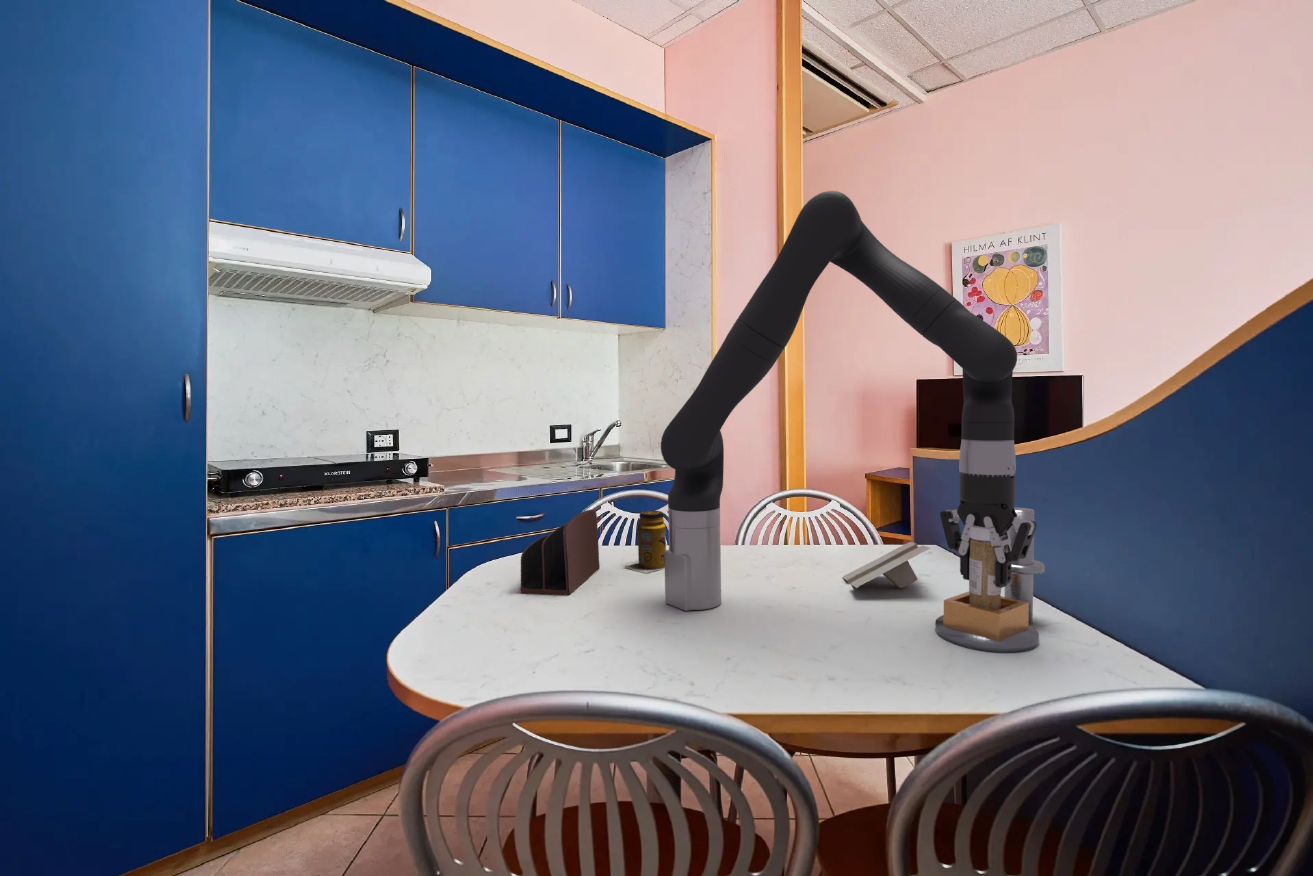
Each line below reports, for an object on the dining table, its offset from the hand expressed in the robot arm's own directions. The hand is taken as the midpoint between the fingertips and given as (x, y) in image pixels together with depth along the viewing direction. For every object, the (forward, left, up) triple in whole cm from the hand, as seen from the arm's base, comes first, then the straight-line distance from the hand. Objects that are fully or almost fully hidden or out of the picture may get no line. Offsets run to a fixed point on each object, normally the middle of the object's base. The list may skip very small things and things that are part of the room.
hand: (985, 582), depth 100 cm
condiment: (-16, +66, -8) cm, 68 cm away
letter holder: (-36, +68, -9) cm, 78 cm away
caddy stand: (+3, 0, -8) cm, 9 cm away
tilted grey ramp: (+10, +25, -8) cm, 28 cm away
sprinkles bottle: (0, 0, -5) cm, 5 cm away
